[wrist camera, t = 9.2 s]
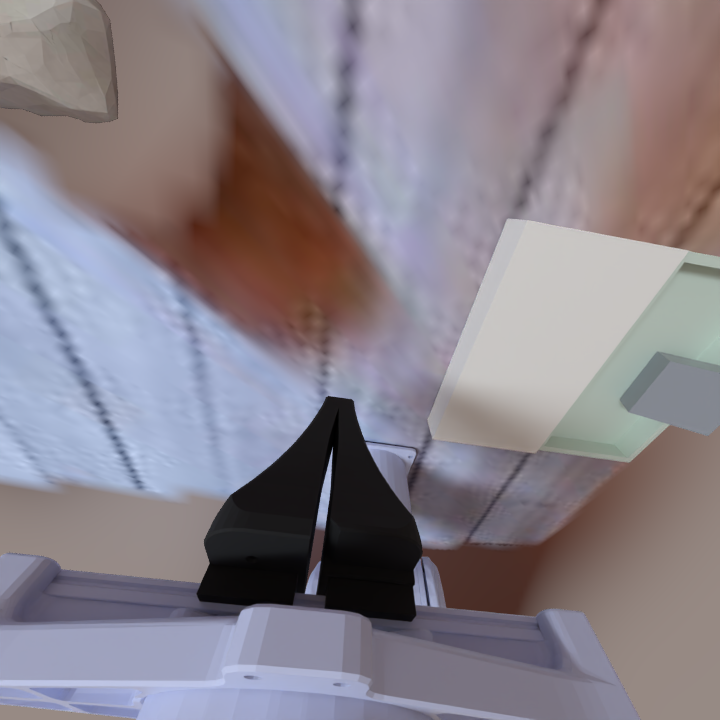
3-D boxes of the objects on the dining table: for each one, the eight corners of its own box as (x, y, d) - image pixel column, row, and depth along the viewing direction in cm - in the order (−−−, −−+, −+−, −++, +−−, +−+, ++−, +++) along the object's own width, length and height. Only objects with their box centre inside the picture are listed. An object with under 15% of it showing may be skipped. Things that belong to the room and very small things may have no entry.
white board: (521, 433, 26) (535, 453, 24) (427, 420, 26) (432, 439, 24) (649, 245, 17) (689, 250, 15) (507, 218, 17) (527, 220, 15)
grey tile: (628, 412, 22) (619, 399, 23) (707, 435, 20) (692, 420, 22) (670, 361, 19) (657, 351, 21) (764, 383, 18) (742, 370, 19)
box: (612, 446, 27) (629, 462, 25) (523, 433, 26) (534, 449, 25) (782, 270, 18) (826, 277, 16) (651, 245, 17) (683, 250, 16)
